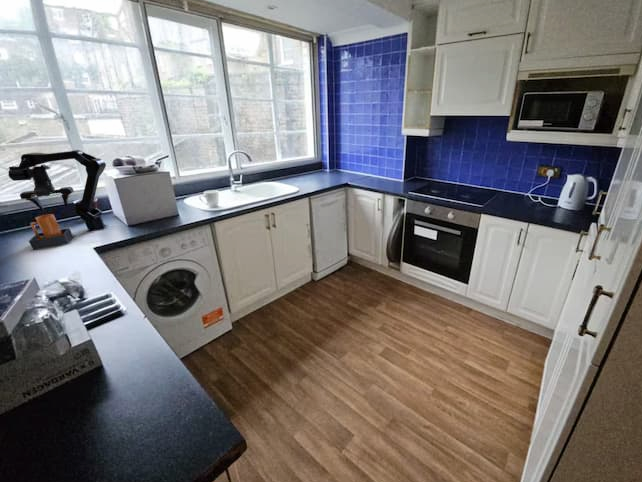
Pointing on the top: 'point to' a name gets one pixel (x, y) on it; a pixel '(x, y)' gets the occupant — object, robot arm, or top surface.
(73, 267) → the top surface
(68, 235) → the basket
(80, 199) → the plastic cup
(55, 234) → the tall orange mug
